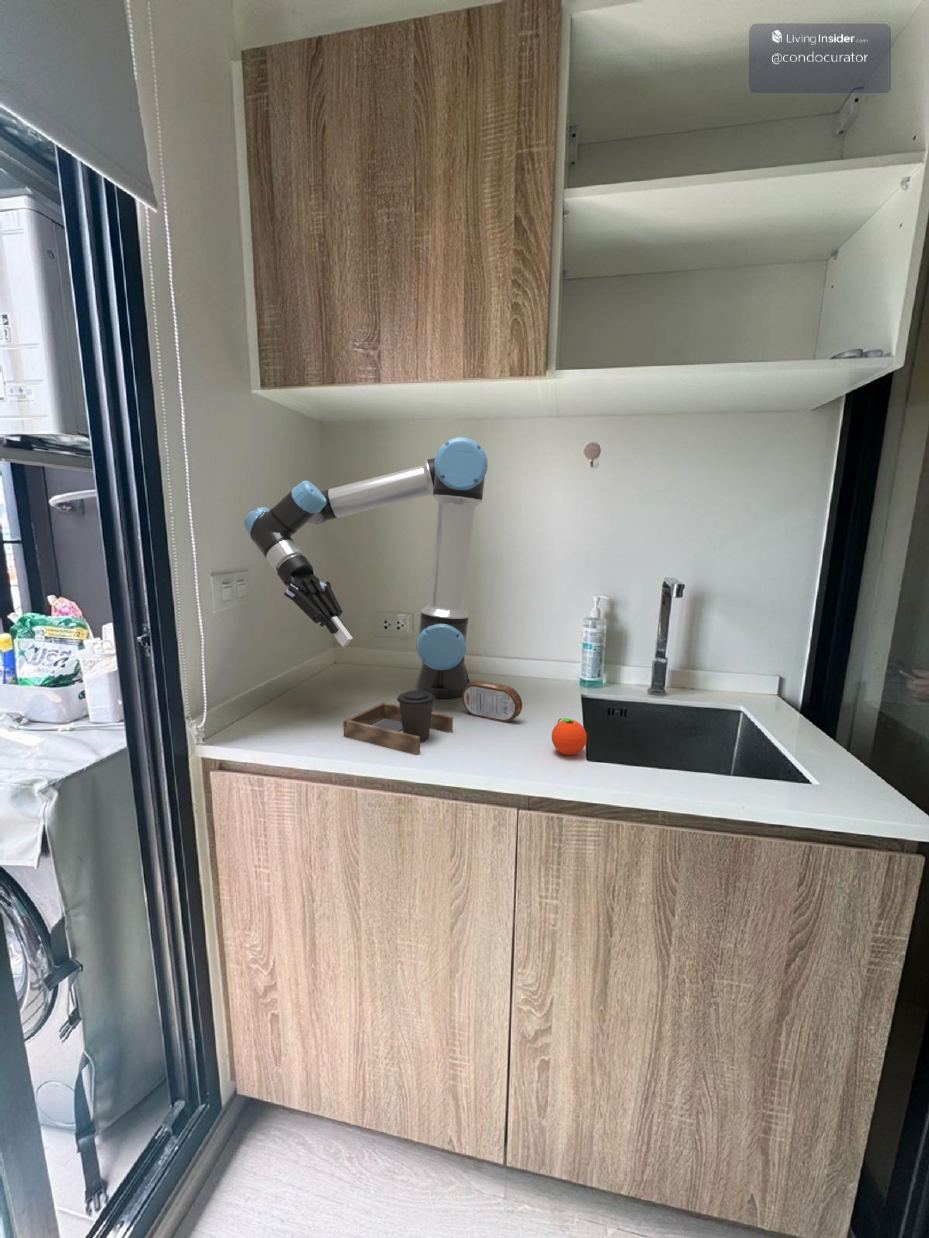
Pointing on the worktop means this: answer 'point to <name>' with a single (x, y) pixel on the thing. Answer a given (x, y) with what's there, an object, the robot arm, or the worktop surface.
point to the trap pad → (390, 725)
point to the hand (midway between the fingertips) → (347, 642)
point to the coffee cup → (416, 713)
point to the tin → (492, 701)
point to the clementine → (569, 736)
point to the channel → (366, 732)
